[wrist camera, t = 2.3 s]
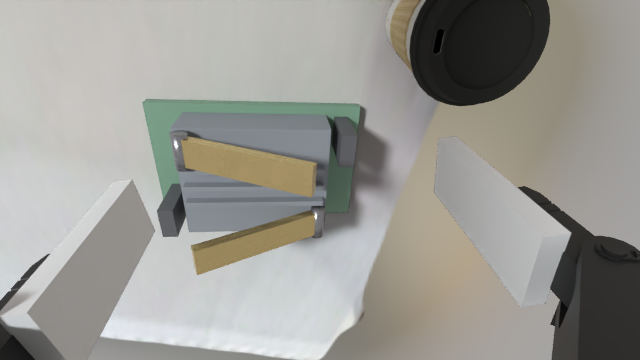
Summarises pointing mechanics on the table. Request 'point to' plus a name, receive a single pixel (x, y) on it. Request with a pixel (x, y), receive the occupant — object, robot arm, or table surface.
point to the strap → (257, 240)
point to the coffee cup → (468, 45)
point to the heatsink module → (257, 134)
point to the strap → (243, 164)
